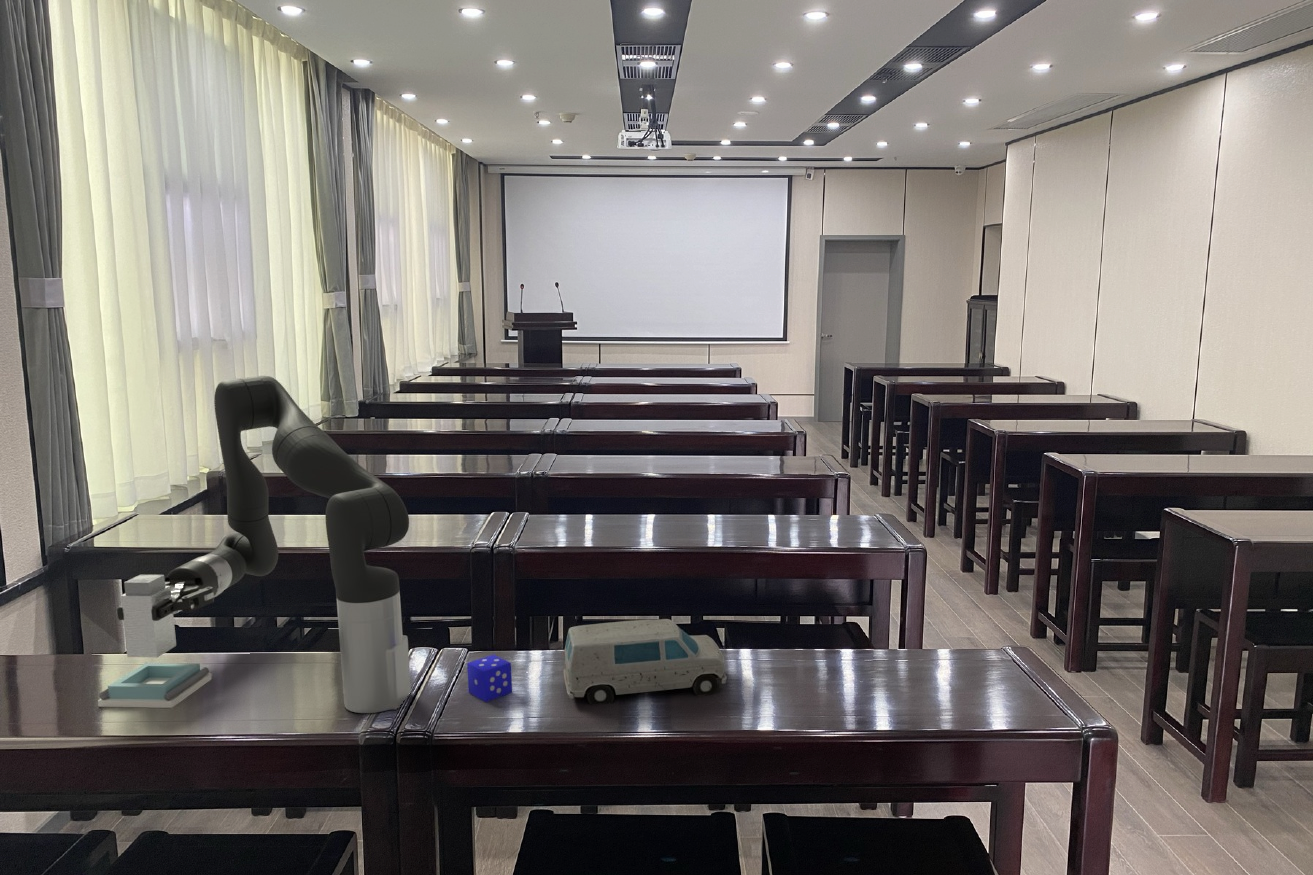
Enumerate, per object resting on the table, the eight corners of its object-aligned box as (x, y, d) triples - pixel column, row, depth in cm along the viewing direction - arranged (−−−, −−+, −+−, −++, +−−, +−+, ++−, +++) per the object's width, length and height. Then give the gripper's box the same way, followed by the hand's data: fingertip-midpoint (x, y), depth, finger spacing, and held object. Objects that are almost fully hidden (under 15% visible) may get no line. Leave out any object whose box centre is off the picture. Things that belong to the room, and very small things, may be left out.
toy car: (728, 694, 145) (727, 632, 144) (568, 709, 141) (565, 645, 140) (713, 668, 156) (712, 610, 154) (563, 681, 152) (560, 622, 150)
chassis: (211, 679, 156) (209, 661, 155) (171, 707, 145) (170, 689, 144) (143, 678, 157) (141, 660, 156) (98, 706, 146) (96, 688, 145)
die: (468, 692, 148) (466, 662, 147) (495, 683, 151) (493, 654, 150) (485, 702, 144) (483, 671, 144) (512, 692, 148) (511, 662, 147)
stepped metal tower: (176, 645, 152) (168, 573, 150) (157, 657, 147) (149, 583, 145) (147, 644, 153) (139, 573, 151) (127, 656, 148) (119, 583, 146)
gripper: (157, 559, 163) (90, 590, 146) (236, 560, 162) (178, 591, 145) (161, 601, 164) (96, 636, 147) (240, 602, 163) (183, 638, 146)
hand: (137, 614), depth 146 cm, fingers closed on stepped metal tower, 5 cm apart
